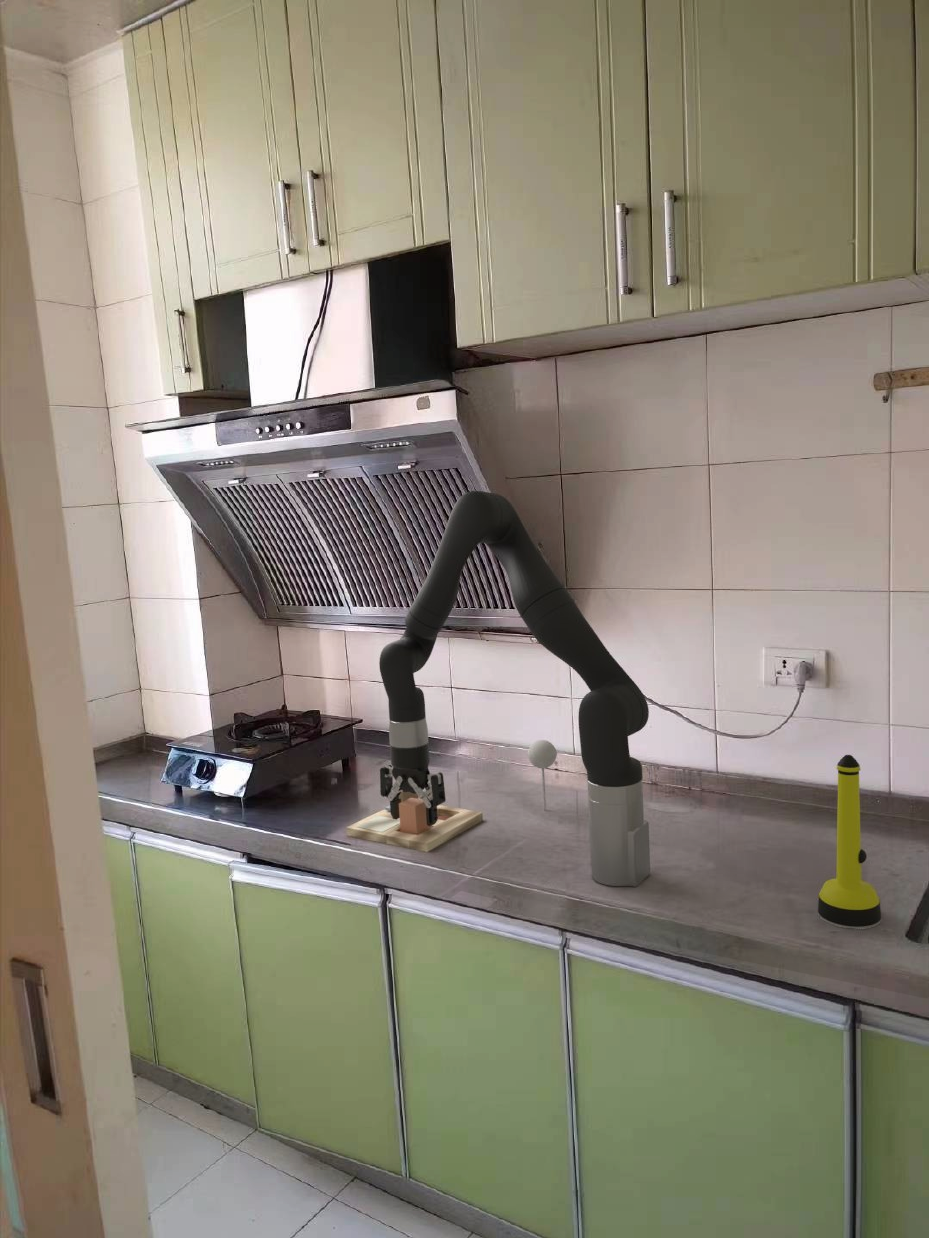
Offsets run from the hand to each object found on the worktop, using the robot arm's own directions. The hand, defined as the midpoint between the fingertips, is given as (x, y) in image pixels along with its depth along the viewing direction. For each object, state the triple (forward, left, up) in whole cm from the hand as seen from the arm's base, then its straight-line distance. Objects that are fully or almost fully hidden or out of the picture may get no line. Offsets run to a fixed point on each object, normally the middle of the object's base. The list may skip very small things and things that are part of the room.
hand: (414, 821), depth 184 cm
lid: (+8, -9, -1) cm, 12 cm away
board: (+3, -4, -3) cm, 6 cm away
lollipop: (-15, -25, -4) cm, 29 cm away
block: (0, 0, -3) cm, 3 cm away
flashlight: (-80, -3, -4) cm, 80 cm away
